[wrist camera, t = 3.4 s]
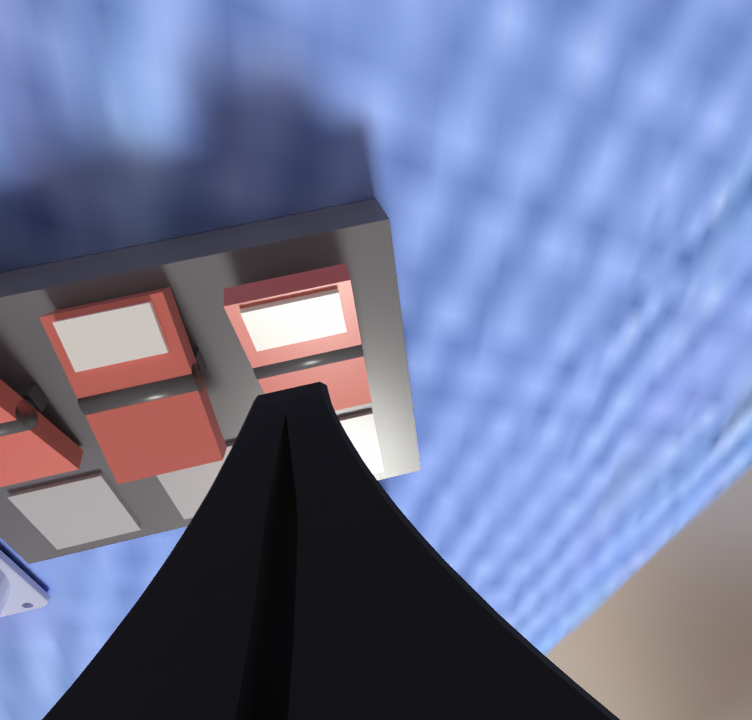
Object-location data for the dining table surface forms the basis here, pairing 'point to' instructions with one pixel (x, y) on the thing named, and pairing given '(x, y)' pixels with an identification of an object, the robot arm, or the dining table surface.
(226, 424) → the switch panel
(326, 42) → the dining table surface
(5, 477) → the rocker
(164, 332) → the rocker
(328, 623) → the robot arm
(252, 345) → the rocker
